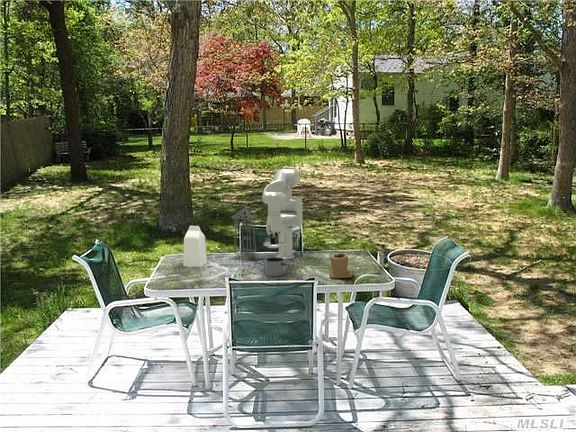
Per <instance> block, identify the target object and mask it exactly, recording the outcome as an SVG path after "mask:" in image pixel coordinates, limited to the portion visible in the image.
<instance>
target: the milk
mask: <svg viewBox="0 0 576 432" xmlns="http://www.w3.org/2000/svg"><path fill="white" fill-rule="evenodd" d="M206 263H207V264H208V258H207V247H206V235H205V234H204V233H203V232H202V230H201V228H200V226H199V225H189V227H188V229H187V231H186V233H185V236H184V238H183V265H182V266H183V267H190V268H191V267H192V268H202V267H203V266H205V265H206ZM204 264H205V265H204ZM201 266H202V267H201Z"/></svg>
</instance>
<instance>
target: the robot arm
mask: <svg viewBox="0 0 576 432" xmlns="http://www.w3.org/2000/svg"><path fill="white" fill-rule="evenodd" d="M300 182H301V176H300V172H299V171H298V170H296V169H295V168H279V169H277V170H276V172H275V173H274V177H273V181H272V182H271V183H268V184H267V185H266V186H265V187H264V189H263V192H262V198H261V199H262V202H263V203H264V204H266V205H267V217H266V225H265V226H266V229H265V230H266V231H265V232H266V233H267V236H269V239H270V240H269V242H270V244H275V238H274V235H278V243H279V242H284V243H286V245H285V246H282V247H281V248H278V254H277V255H276V257H277V258H283V259H285V260H291V259H294V258H295V255H294V254H295V253H296V250H295V249H293V231H292V230H291V228H290V227H301V226H302V224H303V199H302V198H301V197H299V196H292V188H291V186H293V185H294V186H295V185H296V186H297V185H298V184H299V183H300ZM290 185H291V186H290ZM281 211H286V212H281ZM287 211H289V212H287ZM290 211H293V212H290Z"/></svg>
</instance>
